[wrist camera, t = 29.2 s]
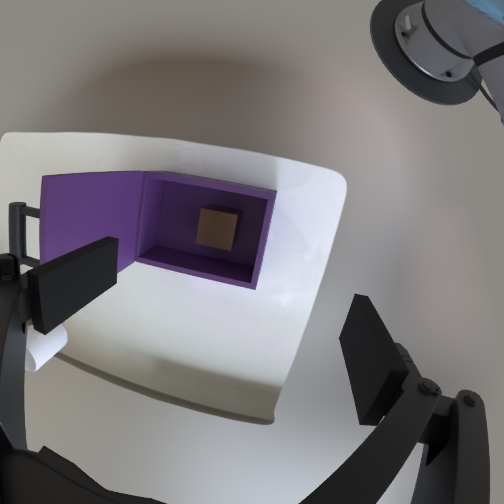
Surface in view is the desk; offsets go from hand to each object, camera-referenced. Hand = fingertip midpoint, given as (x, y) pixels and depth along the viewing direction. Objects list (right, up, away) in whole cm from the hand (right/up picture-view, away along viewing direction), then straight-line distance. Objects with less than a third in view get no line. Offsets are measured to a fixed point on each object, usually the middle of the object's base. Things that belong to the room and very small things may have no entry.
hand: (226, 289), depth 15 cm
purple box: (-5, +7, +30) cm, 31 cm away
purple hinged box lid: (-15, +4, +14) cm, 20 cm away
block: (-3, +6, +29) cm, 30 cm away
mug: (-45, -16, +40) cm, 63 cm away
